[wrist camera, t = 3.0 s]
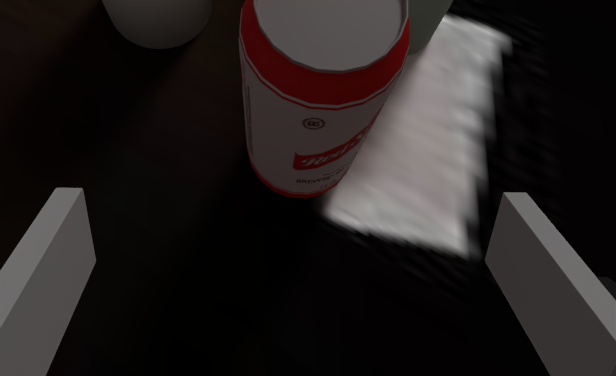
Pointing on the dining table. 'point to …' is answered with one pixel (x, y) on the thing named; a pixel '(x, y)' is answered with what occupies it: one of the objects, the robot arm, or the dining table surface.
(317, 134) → the beer can
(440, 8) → the sage tin
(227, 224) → the dining table surface
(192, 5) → the off-white tin
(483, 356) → the dining table surface
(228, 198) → the dining table surface
